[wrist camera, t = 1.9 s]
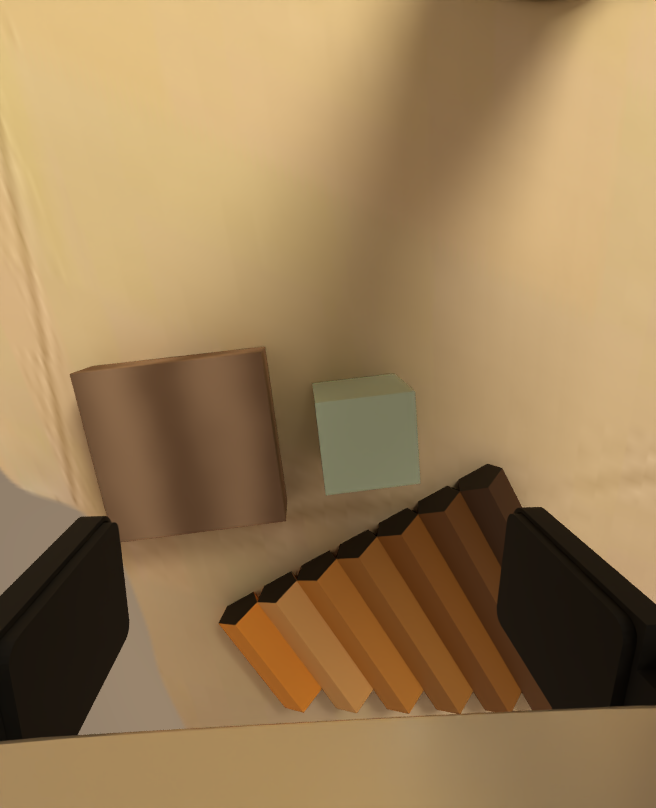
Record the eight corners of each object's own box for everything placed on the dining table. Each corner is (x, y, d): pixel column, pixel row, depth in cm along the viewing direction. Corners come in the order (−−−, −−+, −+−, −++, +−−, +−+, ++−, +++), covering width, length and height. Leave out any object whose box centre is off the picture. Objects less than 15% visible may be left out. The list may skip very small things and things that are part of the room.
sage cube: (394, 373, 31) (415, 391, 26) (399, 450, 33) (420, 483, 27) (312, 382, 31) (314, 402, 25) (321, 459, 33) (325, 495, 27)
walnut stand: (265, 346, 30) (261, 352, 27) (287, 501, 33) (285, 521, 30) (92, 366, 30) (69, 374, 27) (130, 521, 33) (114, 543, 30)
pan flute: (600, 673, 40) (490, 458, 34) (626, 706, 37) (510, 475, 31) (366, 789, 42) (223, 604, 36) (372, 831, 39) (215, 636, 33)
